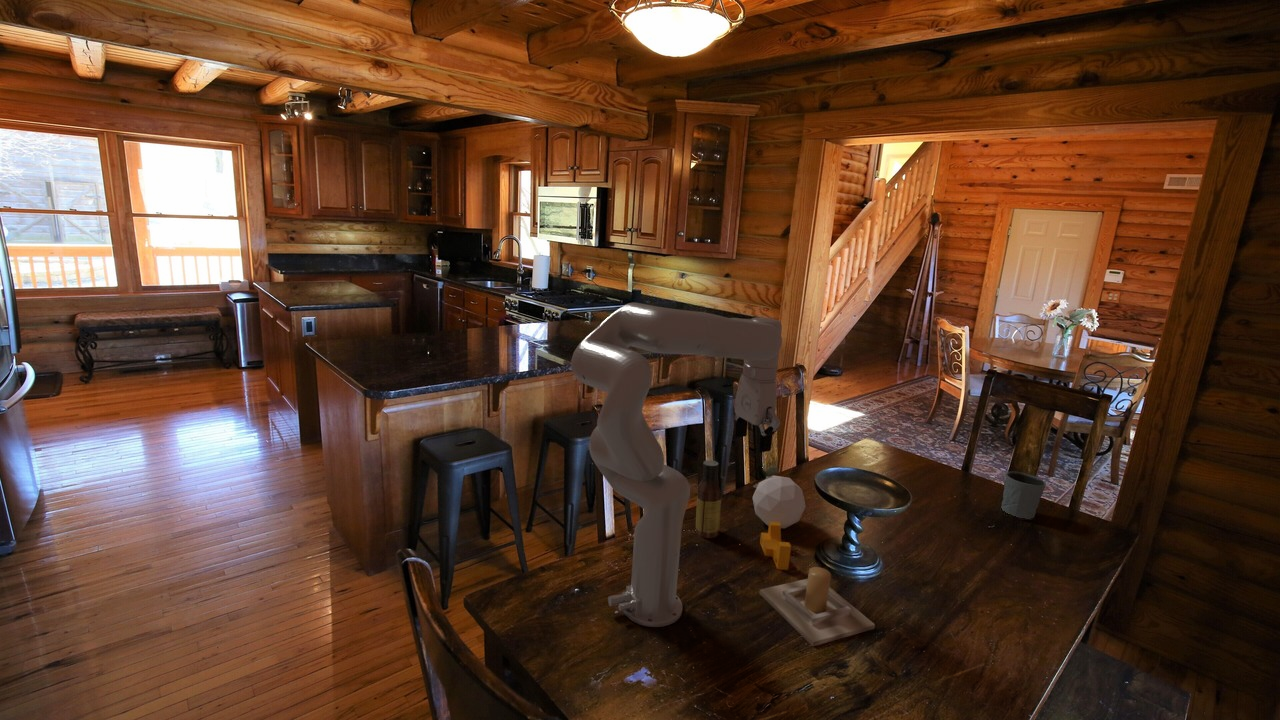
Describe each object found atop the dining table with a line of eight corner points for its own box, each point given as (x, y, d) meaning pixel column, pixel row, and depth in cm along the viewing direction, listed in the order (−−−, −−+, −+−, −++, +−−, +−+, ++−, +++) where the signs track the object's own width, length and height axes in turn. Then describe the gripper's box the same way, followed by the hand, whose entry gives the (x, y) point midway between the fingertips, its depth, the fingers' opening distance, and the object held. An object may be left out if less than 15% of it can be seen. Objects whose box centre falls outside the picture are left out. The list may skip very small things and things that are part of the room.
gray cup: (990, 507, 184) (998, 471, 181) (1020, 507, 185) (1028, 471, 182) (1014, 523, 174) (1022, 485, 171) (1045, 523, 175) (1054, 485, 173)
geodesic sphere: (738, 526, 161) (743, 477, 158) (756, 507, 173) (762, 461, 170) (791, 544, 154) (798, 493, 151) (807, 523, 166) (814, 475, 163)
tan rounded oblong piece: (814, 615, 124) (819, 581, 122) (799, 602, 128) (804, 569, 126) (830, 610, 126) (835, 576, 124) (815, 598, 130) (820, 565, 128)
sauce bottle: (722, 532, 157) (729, 462, 153) (712, 542, 152) (719, 470, 148) (700, 524, 161) (706, 456, 156) (689, 534, 156) (696, 463, 151)
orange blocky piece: (759, 543, 153) (762, 521, 152) (776, 544, 153) (779, 522, 152) (769, 570, 142) (773, 545, 140) (787, 571, 142) (791, 546, 140)
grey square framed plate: (812, 646, 116) (814, 634, 115) (759, 593, 132) (760, 583, 131) (874, 628, 122) (876, 617, 122) (816, 580, 138) (817, 570, 138)
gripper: (725, 364, 140) (718, 432, 144) (768, 383, 125) (759, 459, 129) (751, 363, 143) (744, 430, 147) (797, 381, 128) (787, 455, 132)
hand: (751, 443), depth 138 cm, fingers open, 9 cm apart
